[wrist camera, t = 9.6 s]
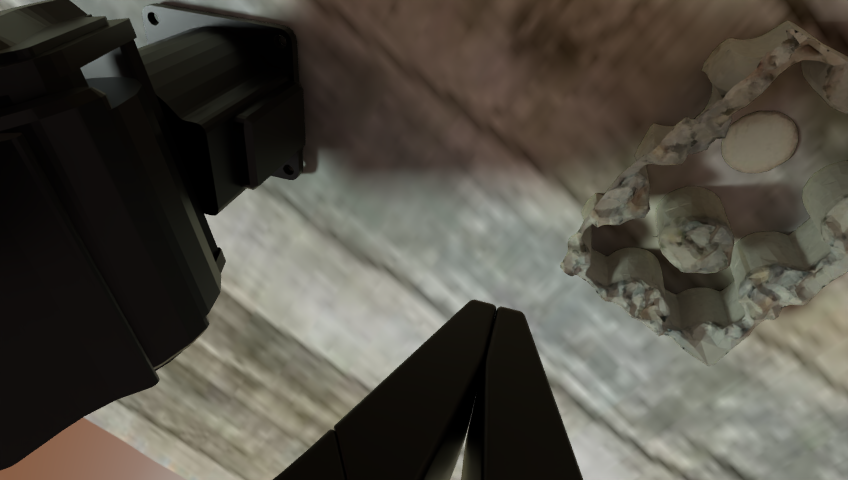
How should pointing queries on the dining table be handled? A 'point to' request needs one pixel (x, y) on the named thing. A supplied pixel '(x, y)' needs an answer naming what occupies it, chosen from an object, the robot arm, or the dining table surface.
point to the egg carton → (705, 216)
